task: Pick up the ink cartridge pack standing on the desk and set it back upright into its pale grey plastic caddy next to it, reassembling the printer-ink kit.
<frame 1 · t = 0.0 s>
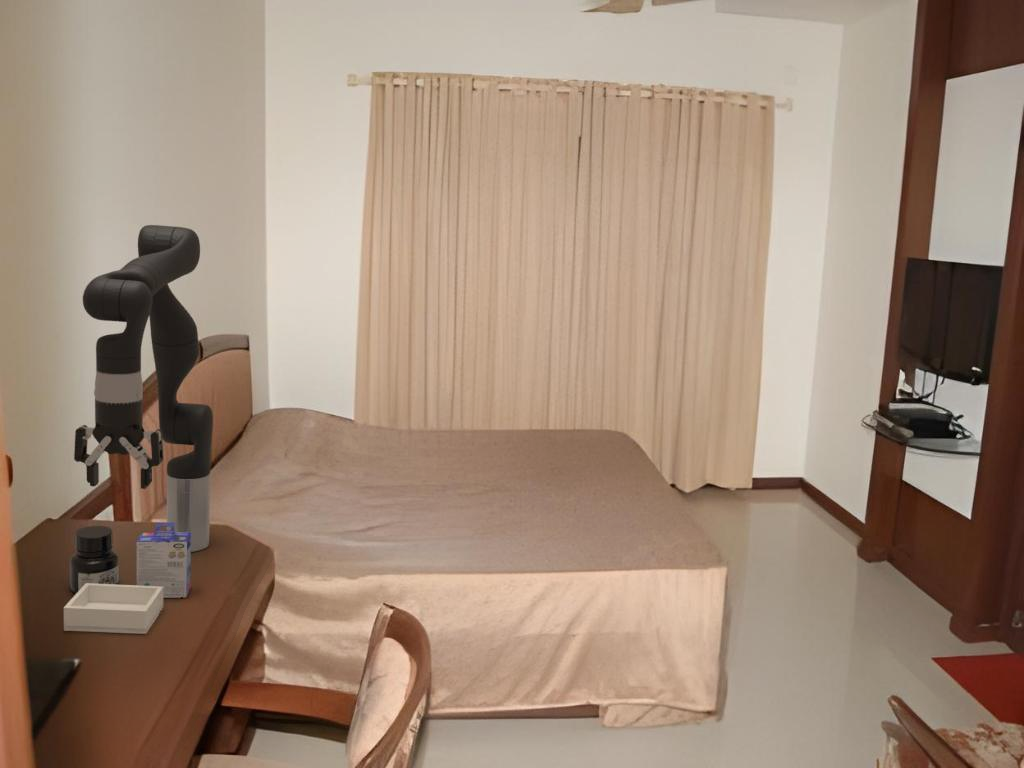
hand: (119, 486, 160), 29 cm above the table, fingers open, 8 cm apart
caddy: (115, 618, 174), on the table
ink cartridge box: (164, 593, 186), on the table
ink bottle: (94, 588, 186), on the table
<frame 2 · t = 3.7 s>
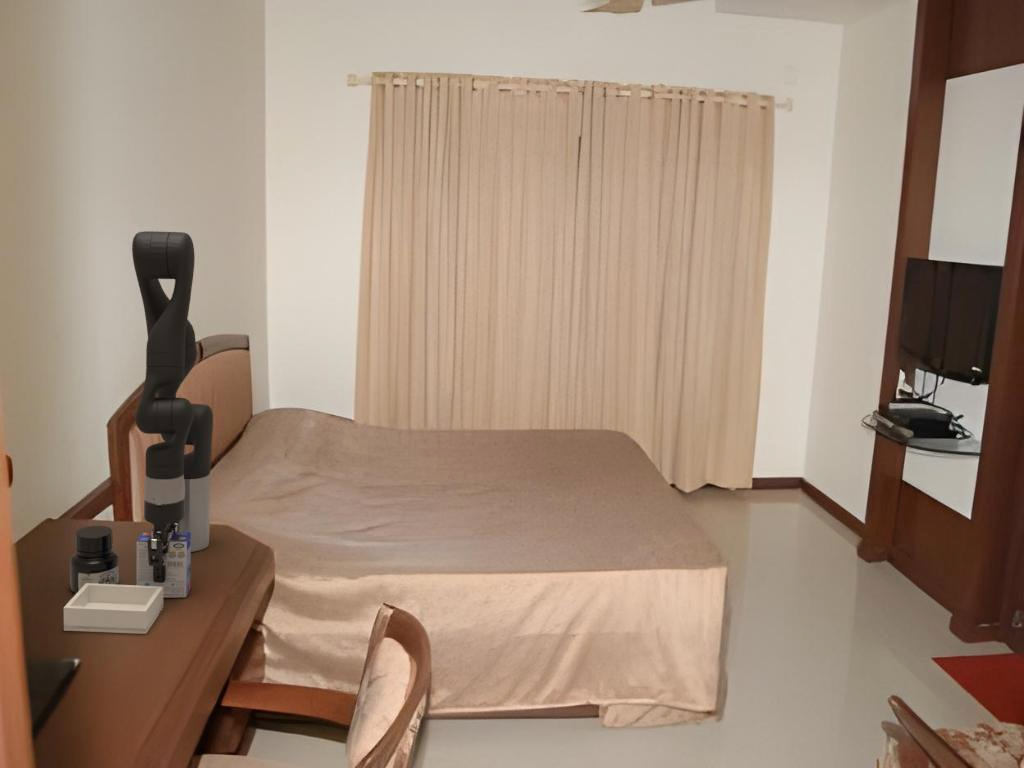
hand: (164, 575, 185), 4 cm above the table, fingers closed on ink cartridge box, 5 cm apart
ink cartridge box: (164, 593, 186), on the table, touching gripper
everything else where it was.
when the fingers open (7 cm above the table, at t = 9.9 s): ink cartridge box drops 2 cm, resting on caddy.
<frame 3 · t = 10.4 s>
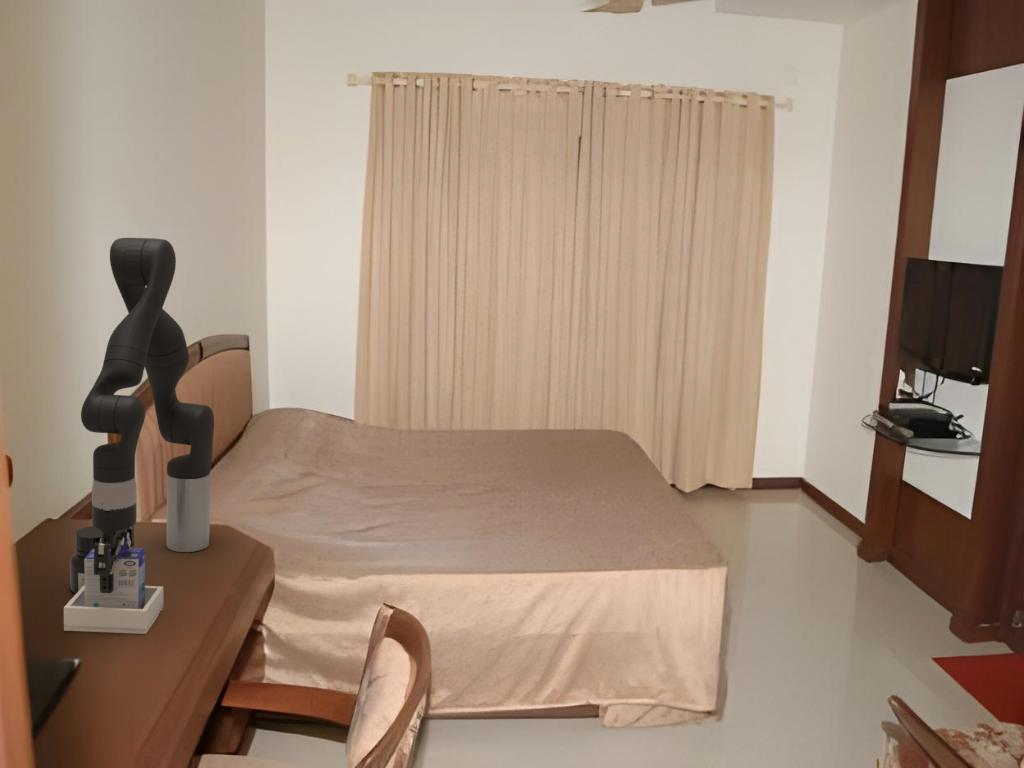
hand: (115, 582, 172), 7 cm above the table, fingers open, 8 cm apart
ink cartridge box: (115, 614, 174), point 1 cm above the table, touching caddy
everything else where it was.
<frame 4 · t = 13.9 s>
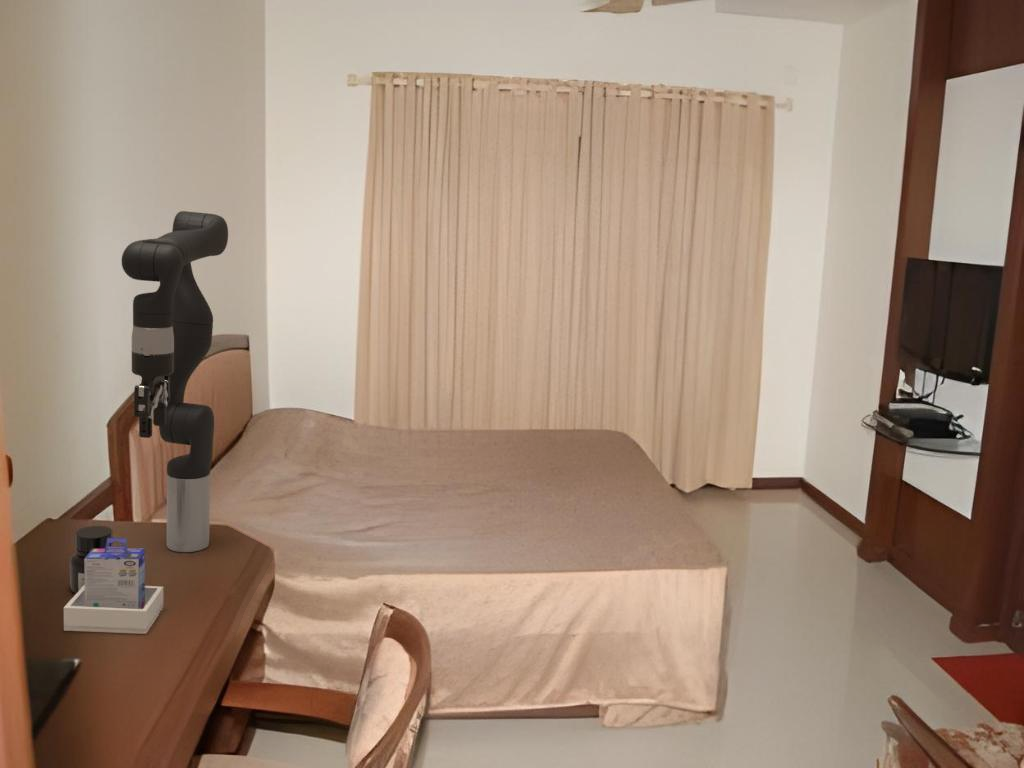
hand: (152, 431, 178), 34 cm above the table, fingers open, 8 cm apart
nothing on the table moved.
at the end: ink cartridge box 0.3 cm off-centre on the caddy, point 0.8 cm above the caddy's base; ink cartridge box tilted 0°; the gripper is holding nothing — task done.
